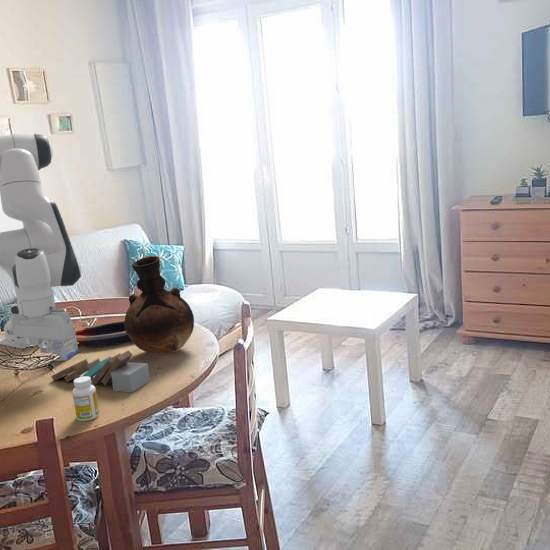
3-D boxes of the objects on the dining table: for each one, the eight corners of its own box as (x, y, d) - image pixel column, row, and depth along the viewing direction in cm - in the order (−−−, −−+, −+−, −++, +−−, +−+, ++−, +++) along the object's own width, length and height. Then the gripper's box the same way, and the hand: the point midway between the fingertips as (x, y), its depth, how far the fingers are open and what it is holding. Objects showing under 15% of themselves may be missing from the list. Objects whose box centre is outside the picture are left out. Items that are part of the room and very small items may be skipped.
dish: (157, 341, 208) (155, 326, 207) (60, 354, 203) (57, 340, 202) (156, 327, 223) (154, 314, 222) (66, 340, 218) (63, 326, 217)
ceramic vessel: (201, 340, 204) (190, 249, 197) (192, 359, 187) (180, 260, 180) (137, 345, 205) (124, 254, 198) (122, 364, 188) (108, 266, 181)
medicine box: (66, 361, 195) (61, 334, 194) (53, 361, 196) (48, 334, 195) (79, 352, 203) (74, 326, 201) (66, 352, 204) (62, 326, 202)
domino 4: (90, 381, 174) (108, 359, 169) (102, 374, 178) (120, 353, 173) (94, 385, 173) (112, 364, 169) (106, 378, 178) (123, 357, 173)
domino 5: (101, 381, 172) (116, 356, 168) (112, 374, 176) (128, 350, 172) (105, 385, 172) (121, 360, 167) (116, 378, 176) (132, 354, 172)
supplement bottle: (91, 410, 158) (85, 373, 155) (104, 414, 154) (98, 377, 152) (72, 418, 154) (65, 381, 151) (85, 423, 150) (78, 385, 148)
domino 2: (64, 377, 178) (86, 364, 173) (76, 370, 182) (98, 358, 177) (66, 382, 178) (89, 370, 173) (79, 375, 182) (101, 363, 177)
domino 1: (51, 376, 179) (73, 365, 175) (63, 369, 184) (86, 358, 179) (53, 381, 180) (76, 370, 175) (66, 374, 184) (88, 364, 179)
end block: (113, 390, 169) (111, 372, 168) (132, 379, 176) (129, 362, 175) (131, 392, 166) (129, 374, 165) (149, 380, 173) (147, 363, 172)
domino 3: (93, 377, 180) (113, 361, 175) (81, 384, 175) (101, 367, 171) (89, 372, 180) (110, 356, 175) (77, 379, 175) (98, 362, 171)
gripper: (75, 304, 177) (82, 351, 181) (20, 301, 186) (28, 346, 189) (59, 311, 172) (67, 359, 175) (3, 308, 180) (12, 353, 183)
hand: (46, 352), depth 182 cm, fingers closed
